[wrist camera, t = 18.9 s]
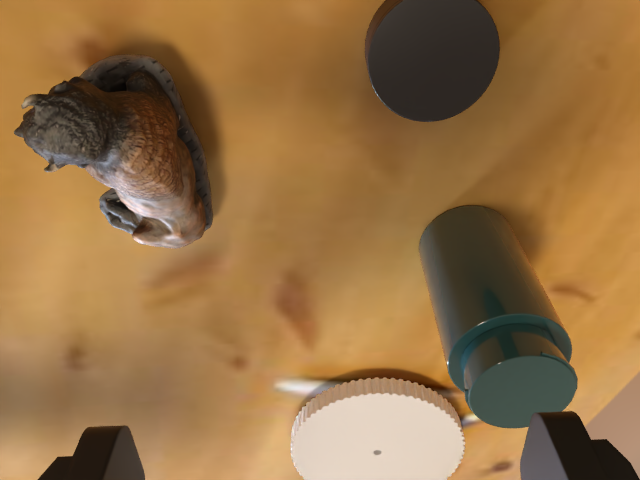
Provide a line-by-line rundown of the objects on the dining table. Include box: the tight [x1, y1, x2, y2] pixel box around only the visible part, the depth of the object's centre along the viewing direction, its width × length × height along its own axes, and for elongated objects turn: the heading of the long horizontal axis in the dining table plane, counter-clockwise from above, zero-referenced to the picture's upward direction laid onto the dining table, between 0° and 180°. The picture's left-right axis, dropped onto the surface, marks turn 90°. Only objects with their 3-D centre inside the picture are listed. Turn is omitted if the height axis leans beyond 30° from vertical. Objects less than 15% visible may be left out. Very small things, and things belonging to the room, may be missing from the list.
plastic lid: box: [291, 377, 465, 480], centre depth 46 cm, size 14×14×2 cm
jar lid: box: [365, 0, 500, 122], centre depth 29 cm, size 6×6×3 cm
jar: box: [419, 206, 578, 428], centre depth 32 cm, size 6×6×13 cm
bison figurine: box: [14, 55, 213, 248], centre depth 29 cm, size 12×7×10 cm, turn 13°
